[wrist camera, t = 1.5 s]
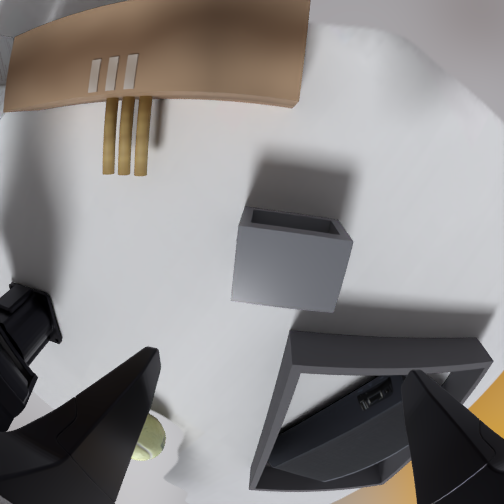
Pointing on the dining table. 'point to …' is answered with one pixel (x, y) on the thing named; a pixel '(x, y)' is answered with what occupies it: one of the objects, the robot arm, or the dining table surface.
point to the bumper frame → (360, 363)
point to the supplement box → (4, 66)
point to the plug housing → (289, 260)
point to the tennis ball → (150, 440)
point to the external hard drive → (346, 433)
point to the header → (159, 61)
